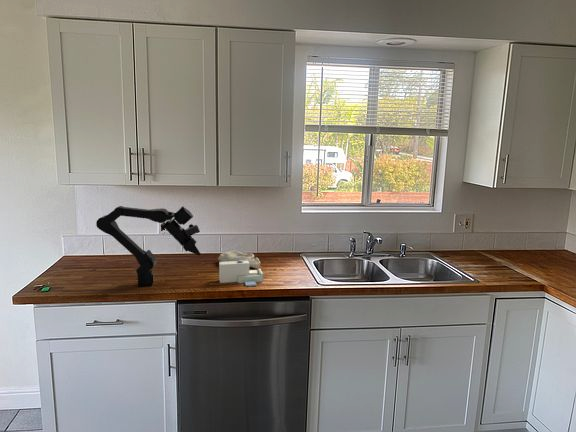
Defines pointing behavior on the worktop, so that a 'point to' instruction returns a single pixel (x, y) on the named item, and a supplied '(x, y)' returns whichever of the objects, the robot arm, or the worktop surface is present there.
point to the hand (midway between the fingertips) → (199, 254)
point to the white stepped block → (234, 270)
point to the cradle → (251, 279)
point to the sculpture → (239, 258)
